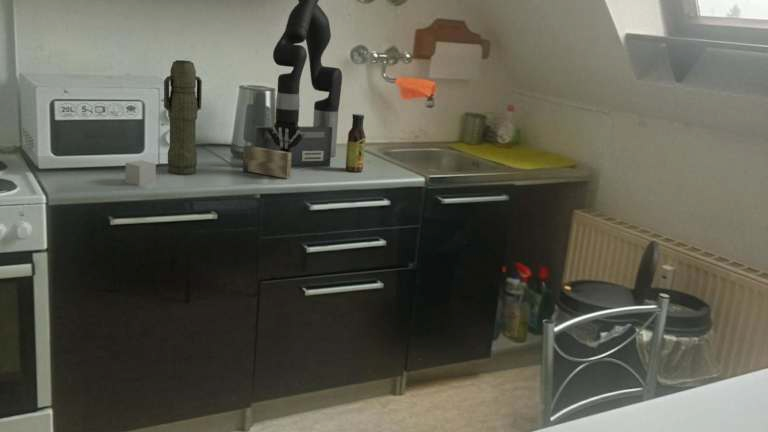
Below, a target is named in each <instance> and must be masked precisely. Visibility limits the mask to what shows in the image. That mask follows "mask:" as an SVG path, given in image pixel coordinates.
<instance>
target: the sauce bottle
mask: <svg viewBox="0 0 768 432" xmlns="http://www.w3.org/2000/svg"><path fill="white" fill-rule="evenodd" d="M351 117H352V124H351V126H352V127H351V129H349V130H348V134H347V140H346V141H347V142H346V143H347V144H346V153H345V154H346V156H345V170H346V171H347V172H352V173H359V172H362V171H363V168H364V161H365V149H366V134H365V131H364V119H365V115H364V114H361V113H353V114H352V116H351Z"/></svg>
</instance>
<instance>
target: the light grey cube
mask: <svg viewBox="0 0 768 432" xmlns="http://www.w3.org/2000/svg"><path fill="white" fill-rule="evenodd" d="M156 166H157V164H156V163H154V162H150V161H147V160H141V159H139V160H135V161H128V162H125V183H127V184H131V185H134V186H138V187H142V186H147V185H152V184H156V179H157V178H156V169H157V168H156Z"/></svg>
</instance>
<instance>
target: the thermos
mask: <svg viewBox="0 0 768 432" xmlns="http://www.w3.org/2000/svg"><path fill="white" fill-rule="evenodd" d="M196 71H197V70H196V68H195V63H193V62H192V61H190V60H179V59H178V60H177V59H176V60H175V61H172V65H171V68H170V75H169V76H166V77H165V79H164V81H163V108H165V109H166V110H167V117H168V119H169V147H168V150H167V165H168V169H167V171H168V173H169V174H172V175H175V176H176V175H178V176H190V175H195V174H197V164H198V163H197V162H198V160H197V158H198V152H197V148H196V126H197V125H196V121H197V119H198V111H199V110H201V109H202V94H203V93H202V88H203V86H202V83H203V82H202V79H201V77H200V76H197V72H196Z"/></svg>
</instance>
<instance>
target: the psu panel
mask: <svg viewBox="0 0 768 432" xmlns="http://www.w3.org/2000/svg"><path fill="white" fill-rule="evenodd" d="M273 127H274V126H258V125H257V126H253V145H252V146H254V147H260V148H266V149H272V150H278V151H281V148H280V146H278V145H276V144H275V142H274V141H273V139H272V137H271V136H270V134H269V132H268V130H269V129H272V128H273ZM298 127H299V131H300V132H301V133H304V134H305V136H304V137H303V138H302V139H301V141H300V142H299V143H298V144H297V145H296V146H295V147H292V148H290V153H292V154H291V168H316V167H317V168H319V167H322V168H323V167H330V166H331V158H332V157H331V142H332V127H313V126H298ZM277 134H278V133H277ZM278 136H279V135H278ZM295 138H296V134H295V135H294V137H293V140H294V139H295Z"/></svg>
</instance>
